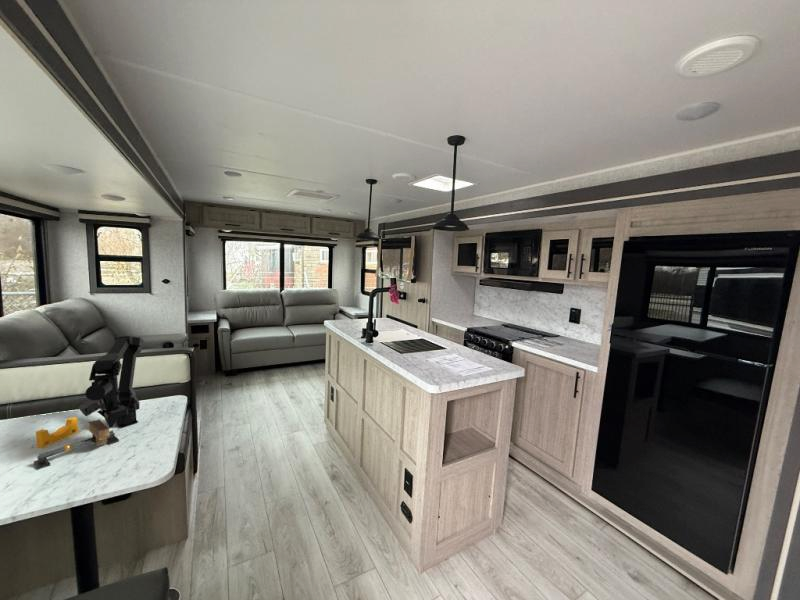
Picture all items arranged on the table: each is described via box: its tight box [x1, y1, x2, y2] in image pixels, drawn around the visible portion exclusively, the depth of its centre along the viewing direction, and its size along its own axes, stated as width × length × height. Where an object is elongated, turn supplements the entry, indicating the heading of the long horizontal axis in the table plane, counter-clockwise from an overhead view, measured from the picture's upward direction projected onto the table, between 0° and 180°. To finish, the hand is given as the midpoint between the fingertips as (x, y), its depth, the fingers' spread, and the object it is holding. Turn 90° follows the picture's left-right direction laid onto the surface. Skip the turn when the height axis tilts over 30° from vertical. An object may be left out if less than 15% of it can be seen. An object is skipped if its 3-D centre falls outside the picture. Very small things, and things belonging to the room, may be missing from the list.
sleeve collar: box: [88, 419, 110, 447], centre depth 126 cm, size 3×12×7 cm, turn 57°
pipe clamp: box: [35, 416, 79, 449], centre depth 129 cm, size 12×4×6 cm, turn 171°
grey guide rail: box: [33, 430, 120, 470], centre depth 121 cm, size 22×6×4 cm, turn 147°
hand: (110, 427), depth 128 cm, fingers closed
